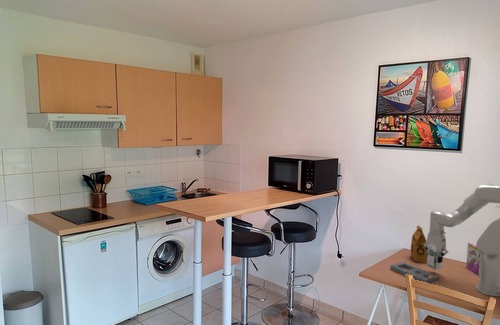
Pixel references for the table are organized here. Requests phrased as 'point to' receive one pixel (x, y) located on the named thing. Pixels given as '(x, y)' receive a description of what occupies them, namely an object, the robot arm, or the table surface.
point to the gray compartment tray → (414, 272)
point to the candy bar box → (473, 258)
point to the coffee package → (419, 246)
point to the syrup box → (433, 258)
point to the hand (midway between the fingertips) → (434, 260)
